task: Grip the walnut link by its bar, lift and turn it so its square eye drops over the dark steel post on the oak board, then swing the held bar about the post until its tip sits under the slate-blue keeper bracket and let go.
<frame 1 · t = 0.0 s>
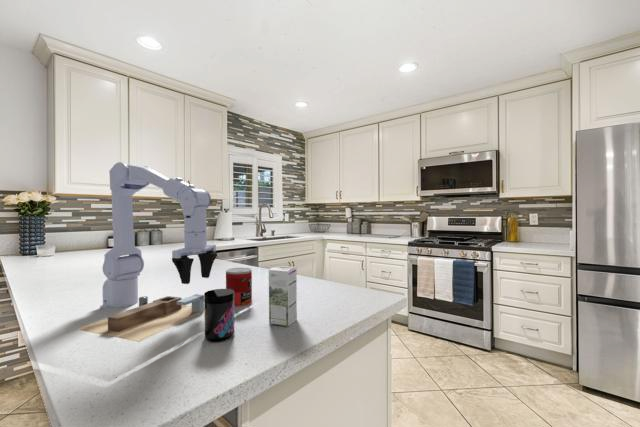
hand: (196, 280, 84), 10 cm above the table, tool pointing down, fingers open, 7 cm apart
keeper: (186, 319, 82), resting on board
post: (143, 312, 87), resting on board
syrup box: (283, 323, 79), on the table
supplement container: (219, 337, 70), on the table
canned food: (239, 305, 94), on the table
link: (167, 310, 87), point 1 cm above the table, touching board
board: (149, 321, 80), on the table
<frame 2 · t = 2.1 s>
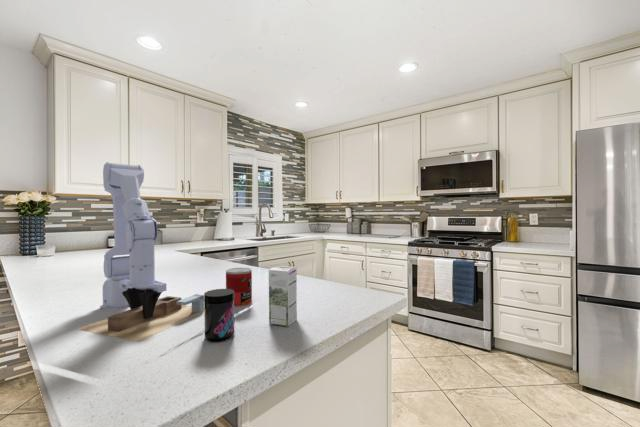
hand: (142, 316, 79), 2 cm above the table, tool pointing down, fingers closed on link, 3 cm apart
link: (167, 310, 87), point 1 cm above the table, touching board, gripper
everything else where it was.
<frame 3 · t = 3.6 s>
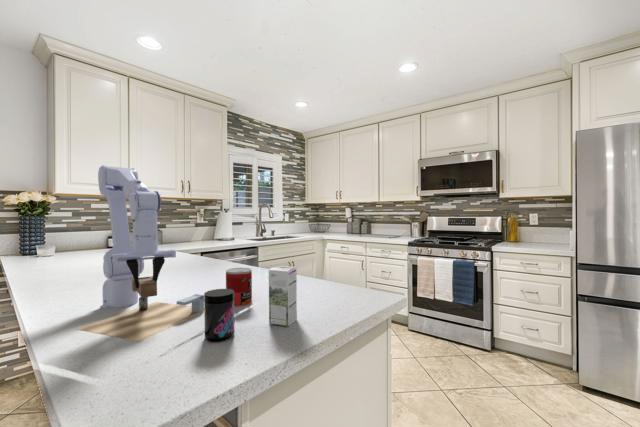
hand: (145, 286, 81), 9 cm above the table, tool pointing down, fingers closed on link, 3 cm apart
link: (143, 289, 87), point 7 cm above the table, tilted 5°, touching gripper
everything else where it was.
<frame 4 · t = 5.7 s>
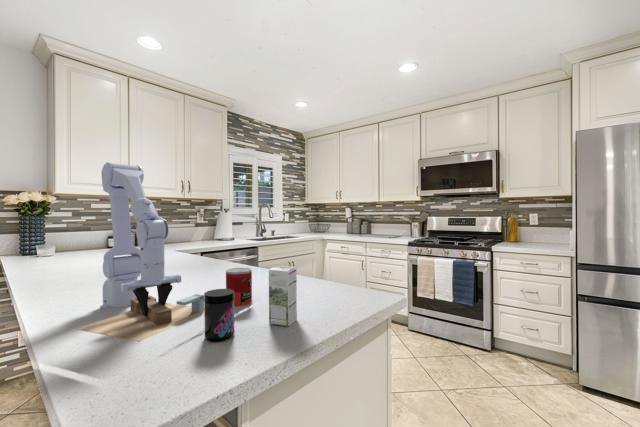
hand: (153, 313, 82), 2 cm above the table, tool pointing down, fingers closed on link, 3 cm apart
link: (143, 309, 87), point 1 cm above the table, touching gripper
everything else where it was.
when the fingers open (2 cm above the table, at t = 6.8 s): link stays where it is, resting on board.
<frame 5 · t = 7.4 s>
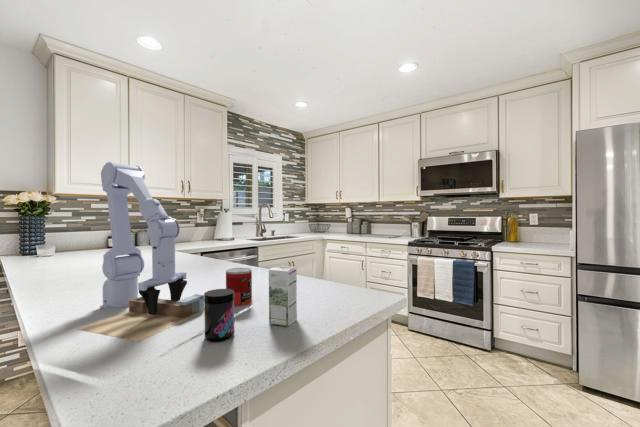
hand: (164, 309, 85), 2 cm above the table, tool pointing down, fingers open, 7 cm apart
link: (144, 309, 87), point 1 cm above the table, touching board
everything else where it was.
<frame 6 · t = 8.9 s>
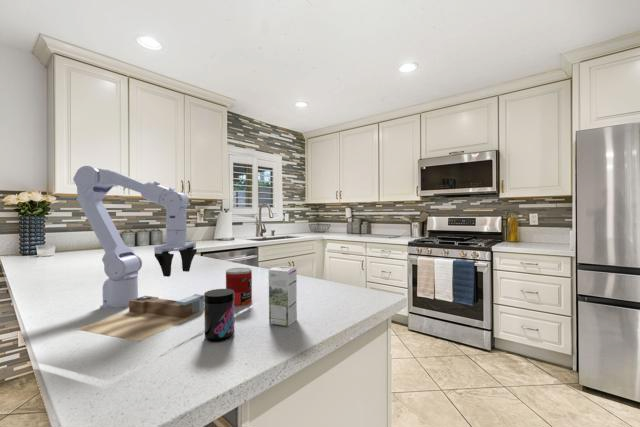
hand: (176, 273, 94), 10 cm above the table, tool pointing down, fingers open, 7 cm apart
nothing on the table moved.
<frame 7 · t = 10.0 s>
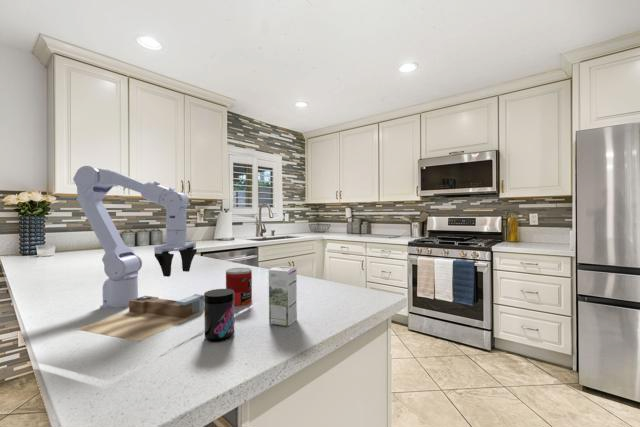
hand: (176, 273, 94), 10 cm above the table, tool pointing down, fingers open, 7 cm apart
nothing on the table moved.
at the end: link 0.2 cm from the post (horizontally); link point 0.8 cm above the table; link tilted 0° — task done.
